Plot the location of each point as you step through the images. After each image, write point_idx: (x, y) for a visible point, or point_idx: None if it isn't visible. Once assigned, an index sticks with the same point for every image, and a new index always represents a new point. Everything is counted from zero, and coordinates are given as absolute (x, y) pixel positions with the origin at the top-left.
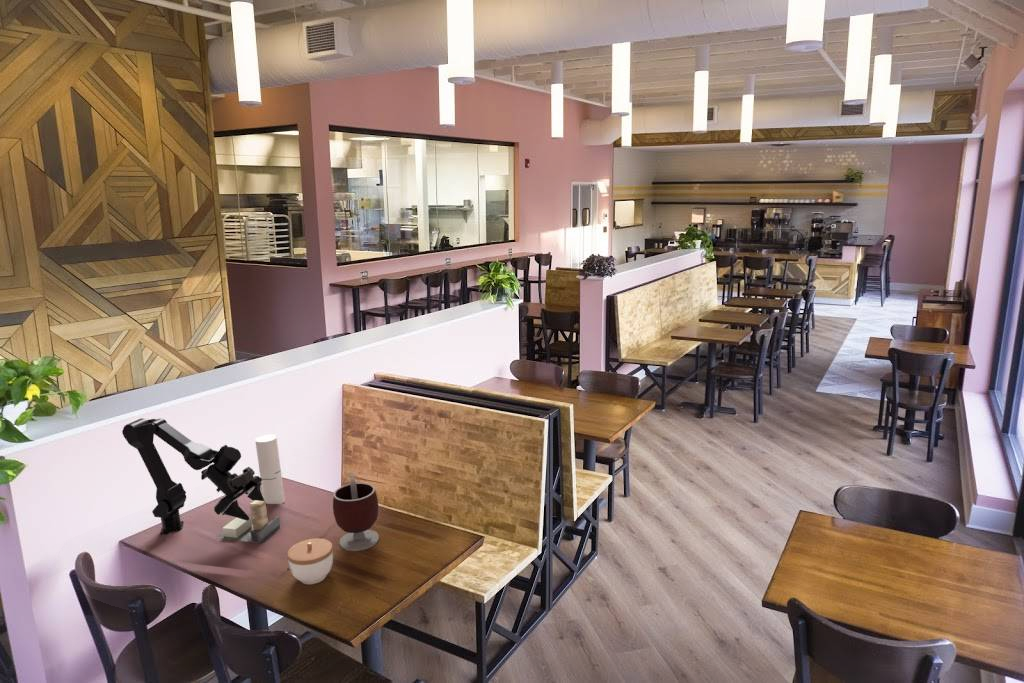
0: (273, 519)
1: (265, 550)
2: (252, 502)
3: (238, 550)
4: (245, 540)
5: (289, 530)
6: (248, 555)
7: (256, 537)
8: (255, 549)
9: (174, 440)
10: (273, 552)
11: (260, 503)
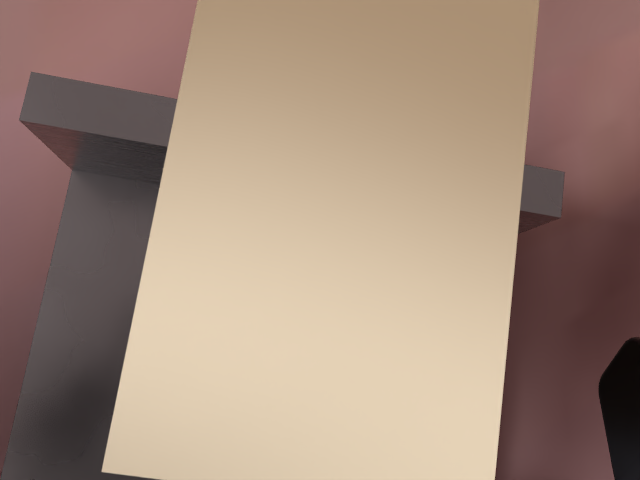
0: (137, 125)
1: (529, 146)
2: (353, 449)
3: (555, 447)
4: None
5: (103, 50)
6: (634, 281)
7: None
8: (520, 261)
9: None
10: (557, 51)
11: (441, 20)
